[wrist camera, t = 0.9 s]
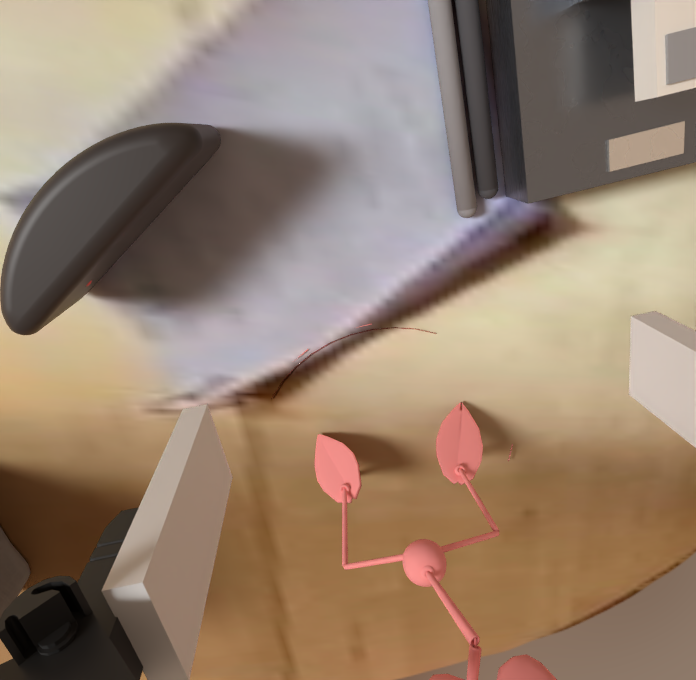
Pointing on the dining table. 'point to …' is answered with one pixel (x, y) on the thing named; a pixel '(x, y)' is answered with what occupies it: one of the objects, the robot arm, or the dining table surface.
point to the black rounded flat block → (95, 216)
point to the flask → (11, 572)
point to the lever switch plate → (578, 99)
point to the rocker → (663, 47)
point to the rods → (455, 104)
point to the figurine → (425, 555)
